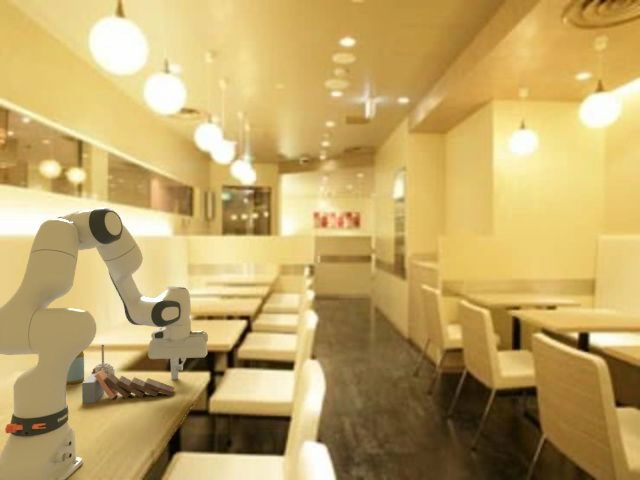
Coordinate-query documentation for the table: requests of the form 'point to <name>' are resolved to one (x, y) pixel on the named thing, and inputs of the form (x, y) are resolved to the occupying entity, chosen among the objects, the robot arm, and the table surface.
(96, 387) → the end block
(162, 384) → the domino
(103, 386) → the domino
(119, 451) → the table surface
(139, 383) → the domino
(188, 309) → the robot arm
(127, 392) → the domino
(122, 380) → the domino
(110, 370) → the decorative ornament
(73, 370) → the bottle
